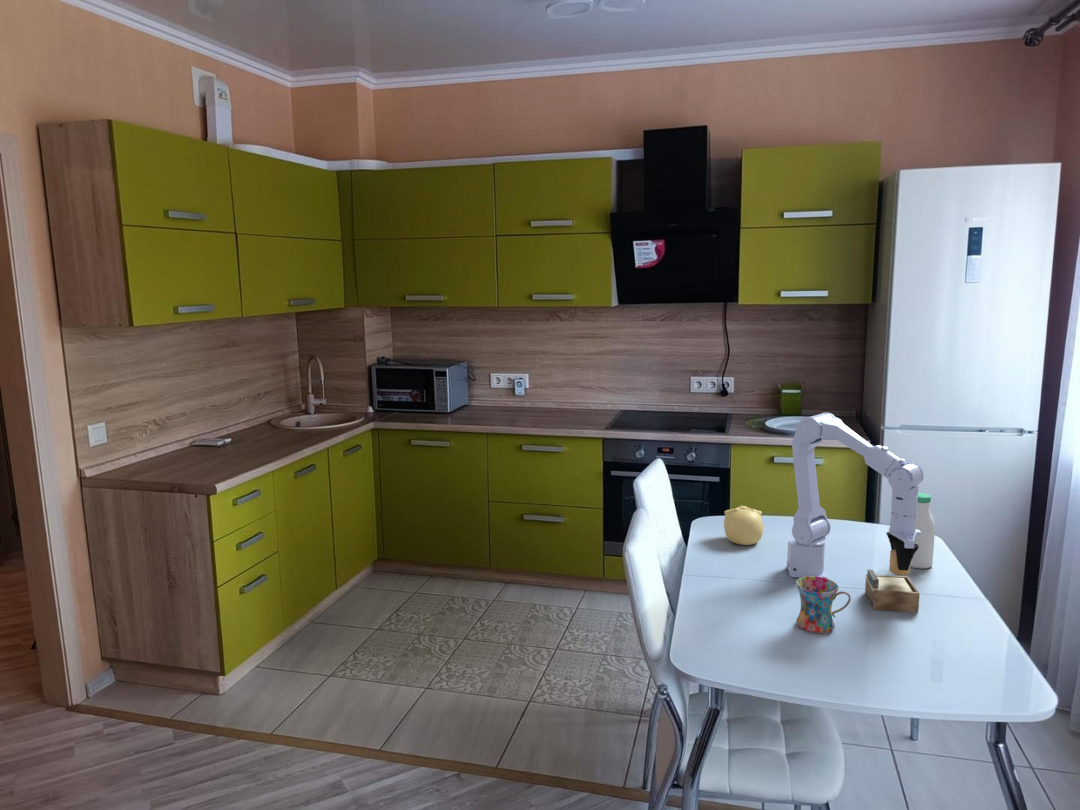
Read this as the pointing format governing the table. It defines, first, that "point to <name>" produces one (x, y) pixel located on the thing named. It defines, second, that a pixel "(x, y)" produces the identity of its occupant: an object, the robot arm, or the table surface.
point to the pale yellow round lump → (743, 525)
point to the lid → (886, 583)
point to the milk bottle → (924, 534)
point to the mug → (817, 603)
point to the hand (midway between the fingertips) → (900, 565)
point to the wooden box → (894, 597)
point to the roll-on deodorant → (893, 565)
